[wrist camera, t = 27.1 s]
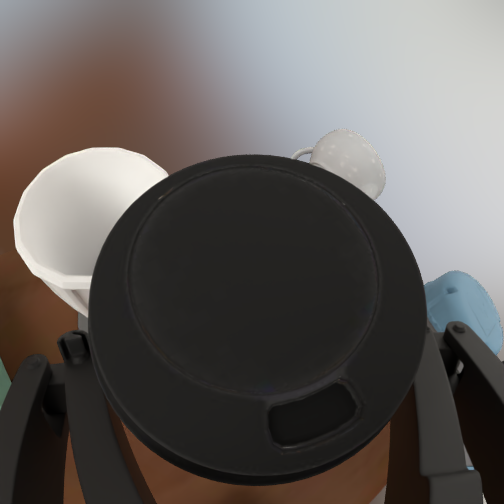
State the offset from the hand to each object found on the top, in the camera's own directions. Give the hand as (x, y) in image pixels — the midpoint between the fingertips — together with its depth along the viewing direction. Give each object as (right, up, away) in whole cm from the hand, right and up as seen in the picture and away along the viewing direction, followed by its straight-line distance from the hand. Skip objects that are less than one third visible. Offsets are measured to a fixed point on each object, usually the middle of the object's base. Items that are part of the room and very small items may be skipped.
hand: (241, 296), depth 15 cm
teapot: (+24, +23, +39) cm, 51 cm away
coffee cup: (0, -6, +4) cm, 7 cm away
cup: (-16, -6, +16) cm, 24 cm away
